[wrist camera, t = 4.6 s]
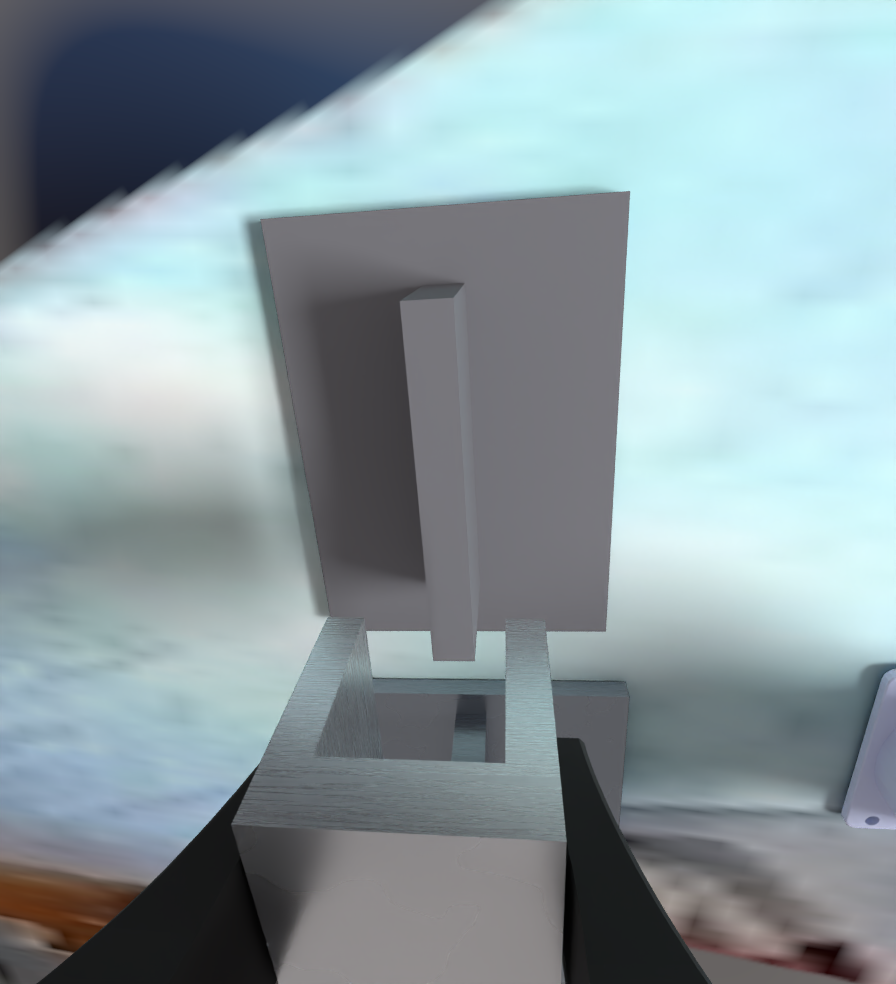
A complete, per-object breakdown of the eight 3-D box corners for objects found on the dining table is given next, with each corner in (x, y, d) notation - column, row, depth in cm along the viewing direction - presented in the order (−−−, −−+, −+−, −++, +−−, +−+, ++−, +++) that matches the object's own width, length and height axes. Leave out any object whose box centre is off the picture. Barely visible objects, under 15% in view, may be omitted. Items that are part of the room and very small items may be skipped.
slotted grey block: (544, 619, 12) (566, 842, 8) (542, 791, 14) (557, 1044, 10) (327, 617, 12) (230, 824, 8) (355, 783, 14) (289, 1021, 10)
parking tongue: (624, 193, 16) (669, 178, 11) (602, 617, 21) (627, 716, 17) (270, 219, 17) (189, 215, 13) (338, 617, 23) (298, 710, 18)
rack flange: (625, 681, 23) (655, 795, 18) (603, 978, 31) (620, 1108, 26) (325, 678, 24) (282, 783, 19) (379, 963, 32) (358, 1085, 27)
